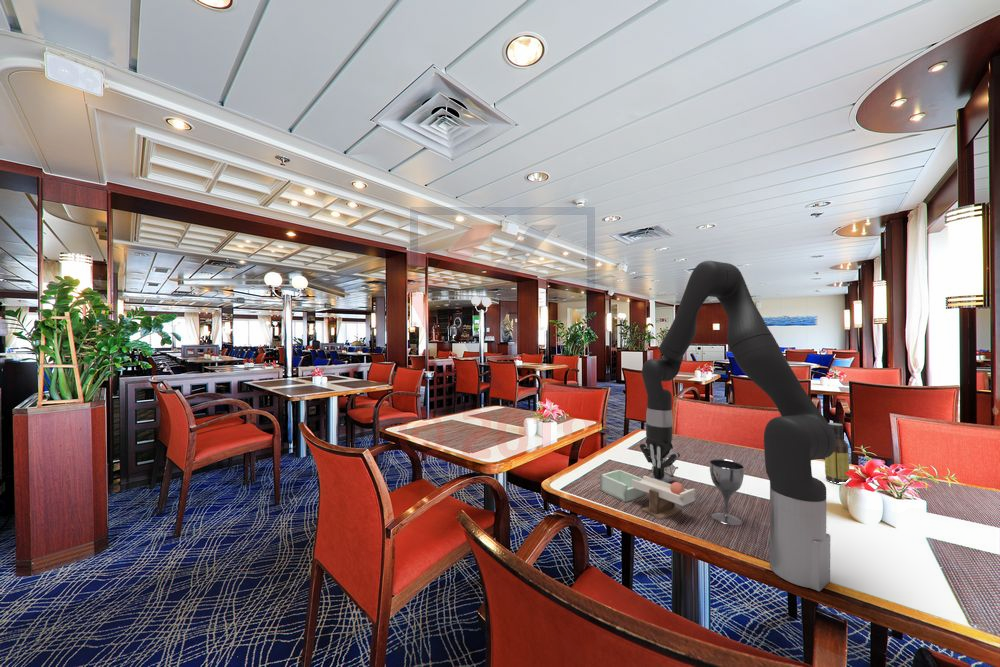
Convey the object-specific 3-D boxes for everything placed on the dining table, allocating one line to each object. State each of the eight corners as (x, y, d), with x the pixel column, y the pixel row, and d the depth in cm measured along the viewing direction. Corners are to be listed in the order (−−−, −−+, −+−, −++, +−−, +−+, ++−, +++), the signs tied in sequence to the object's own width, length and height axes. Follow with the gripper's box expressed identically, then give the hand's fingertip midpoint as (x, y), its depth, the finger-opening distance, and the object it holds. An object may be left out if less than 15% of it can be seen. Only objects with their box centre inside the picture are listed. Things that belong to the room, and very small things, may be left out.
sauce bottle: (850, 482, 126) (850, 424, 126) (849, 487, 121) (849, 427, 121) (825, 476, 130) (825, 420, 130) (823, 481, 126) (823, 423, 126)
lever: (712, 497, 104) (712, 482, 104) (682, 510, 96) (682, 494, 97) (661, 480, 118) (661, 467, 118) (631, 491, 110) (631, 476, 110)
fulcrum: (682, 510, 105) (682, 487, 105) (660, 520, 100) (660, 496, 100) (663, 502, 110) (663, 480, 110) (641, 511, 105) (641, 488, 105)
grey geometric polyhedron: (669, 493, 125) (683, 476, 119) (644, 482, 127) (657, 465, 121) (668, 472, 132) (682, 455, 126) (645, 462, 134) (657, 445, 128)
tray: (644, 495, 115) (644, 479, 115) (625, 502, 110) (625, 485, 110) (618, 484, 123) (619, 469, 123) (600, 490, 118) (600, 474, 118)
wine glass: (727, 528, 96) (727, 470, 96) (702, 513, 103) (702, 460, 103) (751, 523, 98) (751, 467, 98) (725, 510, 105) (725, 457, 105)
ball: (688, 492, 100) (682, 479, 101) (681, 495, 98) (675, 482, 100) (678, 495, 102) (672, 482, 104) (671, 497, 101) (665, 485, 102)
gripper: (686, 426, 110) (686, 483, 111) (648, 417, 122) (647, 469, 122) (671, 429, 106) (671, 489, 107) (633, 420, 118) (632, 473, 118)
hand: (658, 478), depth 114 cm, fingers closed
